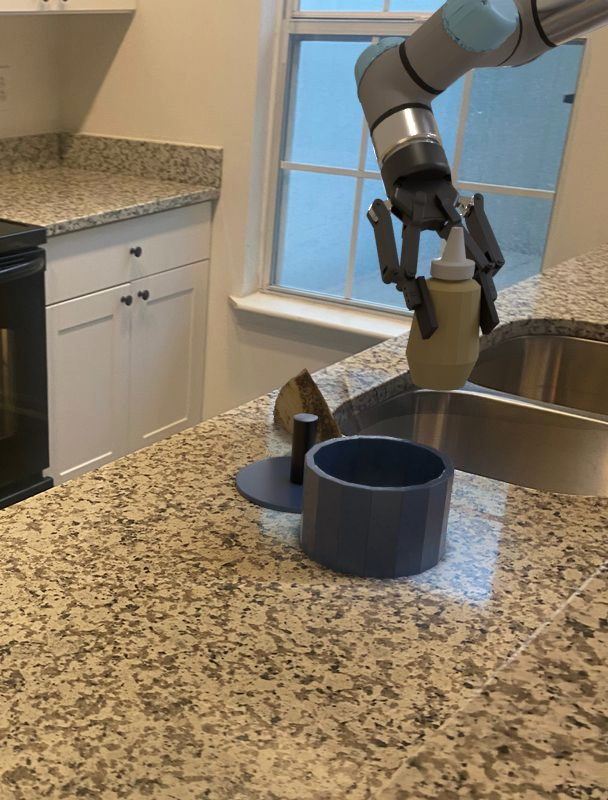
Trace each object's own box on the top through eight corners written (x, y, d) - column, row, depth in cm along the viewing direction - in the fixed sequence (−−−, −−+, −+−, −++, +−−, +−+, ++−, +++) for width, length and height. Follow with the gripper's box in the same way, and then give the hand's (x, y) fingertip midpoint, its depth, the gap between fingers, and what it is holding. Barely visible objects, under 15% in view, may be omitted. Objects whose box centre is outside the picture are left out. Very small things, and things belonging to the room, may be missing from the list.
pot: (429, 521, 107) (439, 436, 103) (453, 586, 95) (466, 492, 91) (296, 518, 109) (301, 434, 104) (303, 580, 96) (309, 488, 92)
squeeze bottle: (400, 393, 118) (418, 233, 110) (403, 372, 125) (419, 220, 117) (475, 398, 115) (498, 235, 108) (473, 376, 122) (495, 222, 115)
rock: (251, 406, 134) (256, 422, 124) (293, 353, 131) (302, 366, 122) (316, 455, 135) (326, 475, 125) (359, 403, 132) (373, 420, 123)
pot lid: (360, 466, 120) (367, 396, 117) (375, 520, 107) (382, 443, 104) (235, 463, 122) (237, 394, 119) (235, 516, 109) (237, 440, 106)
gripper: (474, 176, 126) (525, 341, 118) (323, 184, 123) (366, 354, 116) (502, 134, 119) (559, 307, 111) (343, 142, 116) (390, 319, 109)
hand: (460, 330), depth 114 cm, fingers closed on squeeze bottle, 6 cm apart
